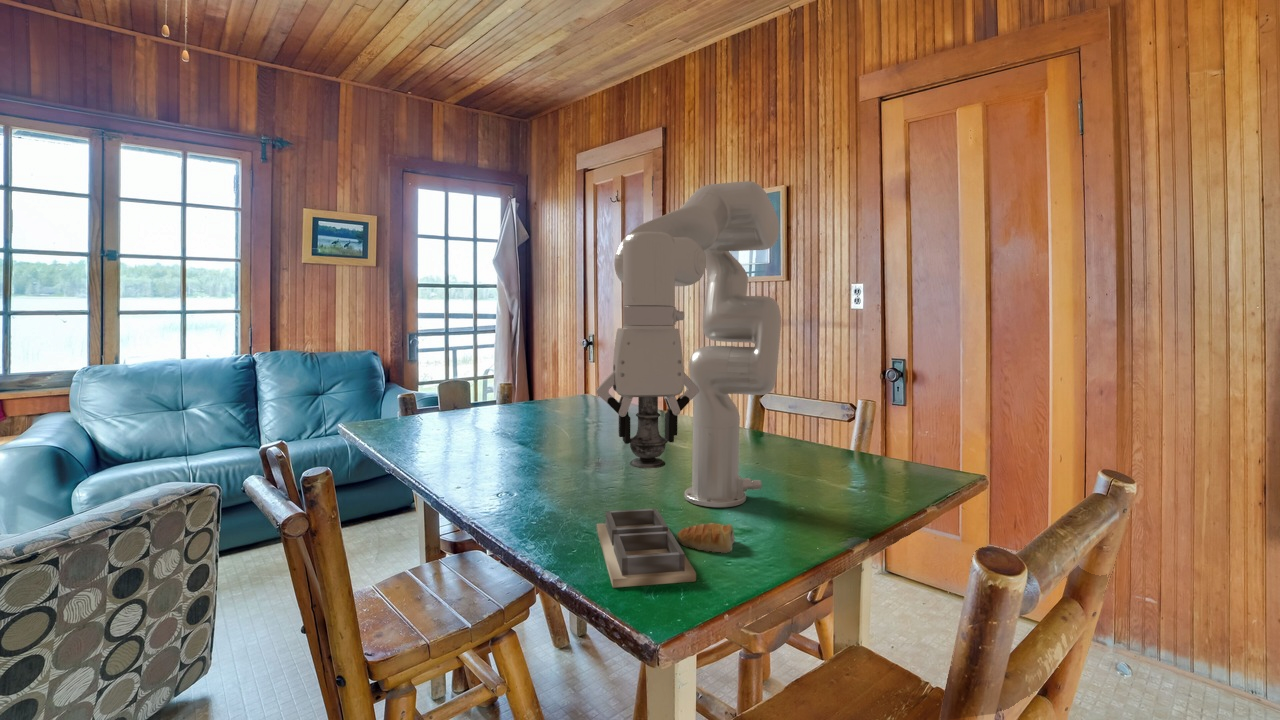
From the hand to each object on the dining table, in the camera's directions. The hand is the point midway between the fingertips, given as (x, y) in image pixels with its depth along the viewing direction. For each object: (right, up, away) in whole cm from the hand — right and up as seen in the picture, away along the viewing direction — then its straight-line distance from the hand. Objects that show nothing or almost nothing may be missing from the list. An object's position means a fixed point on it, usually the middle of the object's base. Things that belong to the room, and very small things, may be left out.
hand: (647, 439), depth 87 cm
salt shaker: (0, -4, 0) cm, 4 cm away
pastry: (+10, -19, +10) cm, 24 cm away
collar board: (-1, -19, +7) cm, 20 cm away
